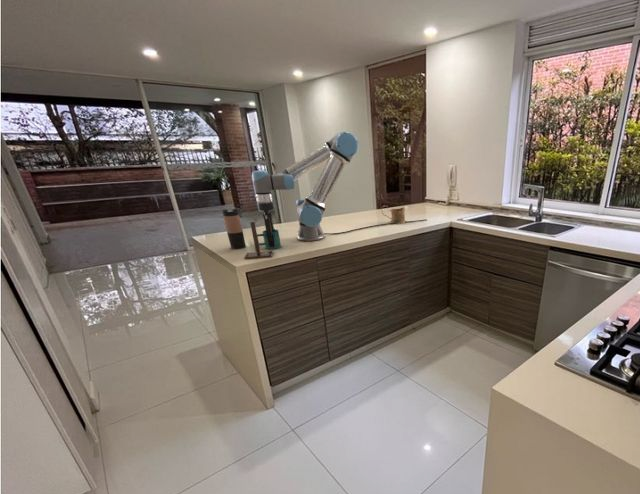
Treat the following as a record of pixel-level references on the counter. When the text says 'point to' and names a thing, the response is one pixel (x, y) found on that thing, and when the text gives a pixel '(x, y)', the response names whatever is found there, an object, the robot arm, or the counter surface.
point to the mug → (397, 215)
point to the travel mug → (234, 228)
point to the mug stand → (257, 245)
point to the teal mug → (275, 236)
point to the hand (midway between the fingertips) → (272, 244)
